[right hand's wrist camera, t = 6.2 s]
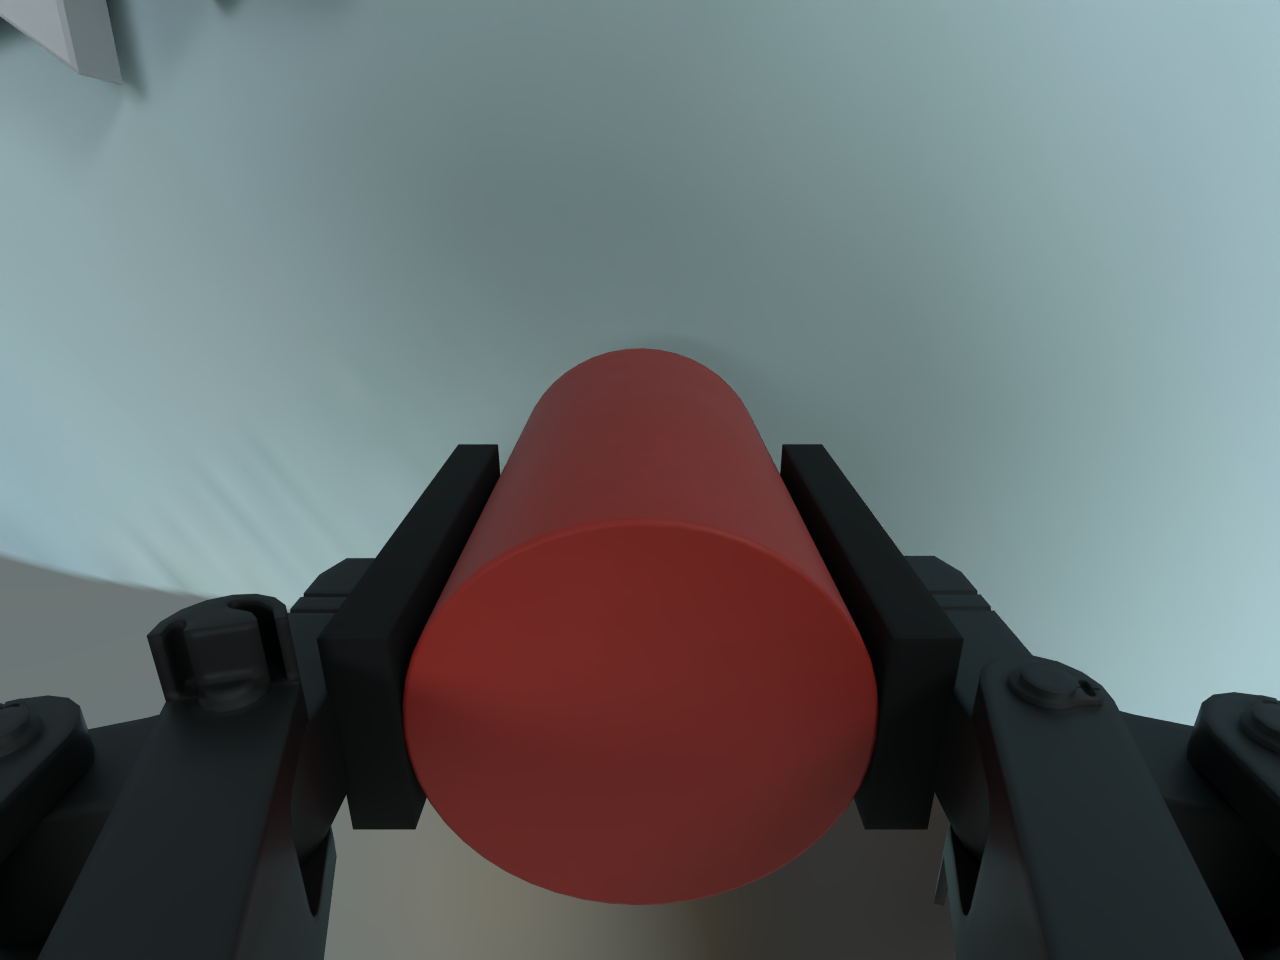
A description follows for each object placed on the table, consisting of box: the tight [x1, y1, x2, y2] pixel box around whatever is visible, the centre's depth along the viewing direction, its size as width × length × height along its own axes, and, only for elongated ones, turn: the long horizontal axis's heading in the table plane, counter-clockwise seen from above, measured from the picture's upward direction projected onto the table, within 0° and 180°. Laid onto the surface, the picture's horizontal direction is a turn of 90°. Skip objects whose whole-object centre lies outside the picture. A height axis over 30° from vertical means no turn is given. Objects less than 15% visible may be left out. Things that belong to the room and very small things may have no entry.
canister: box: [402, 349, 879, 905], centre depth 12 cm, size 6×6×9 cm
